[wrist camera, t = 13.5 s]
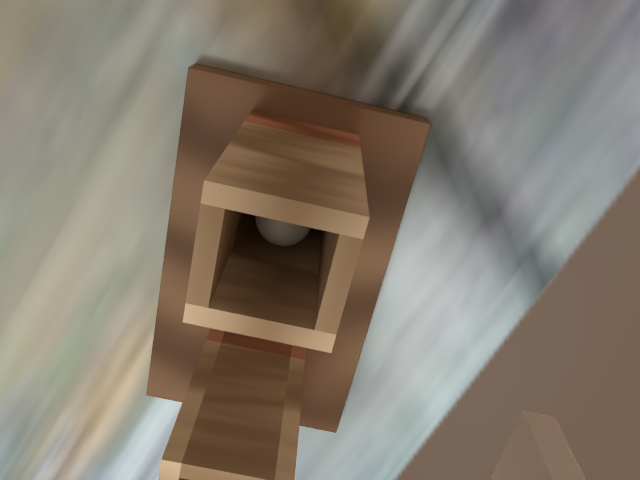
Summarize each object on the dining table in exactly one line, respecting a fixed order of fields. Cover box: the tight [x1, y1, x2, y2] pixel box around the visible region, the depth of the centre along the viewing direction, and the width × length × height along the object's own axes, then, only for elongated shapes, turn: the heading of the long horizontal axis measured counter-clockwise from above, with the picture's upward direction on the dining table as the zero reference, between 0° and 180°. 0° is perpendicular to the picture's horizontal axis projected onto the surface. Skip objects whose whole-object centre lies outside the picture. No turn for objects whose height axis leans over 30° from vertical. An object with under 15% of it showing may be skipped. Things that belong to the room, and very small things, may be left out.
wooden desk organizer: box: [146, 64, 431, 480], centre depth 28 cm, size 20×12×12 cm, turn 167°
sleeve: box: [183, 110, 370, 353], centre depth 25 cm, size 5×5×11 cm
